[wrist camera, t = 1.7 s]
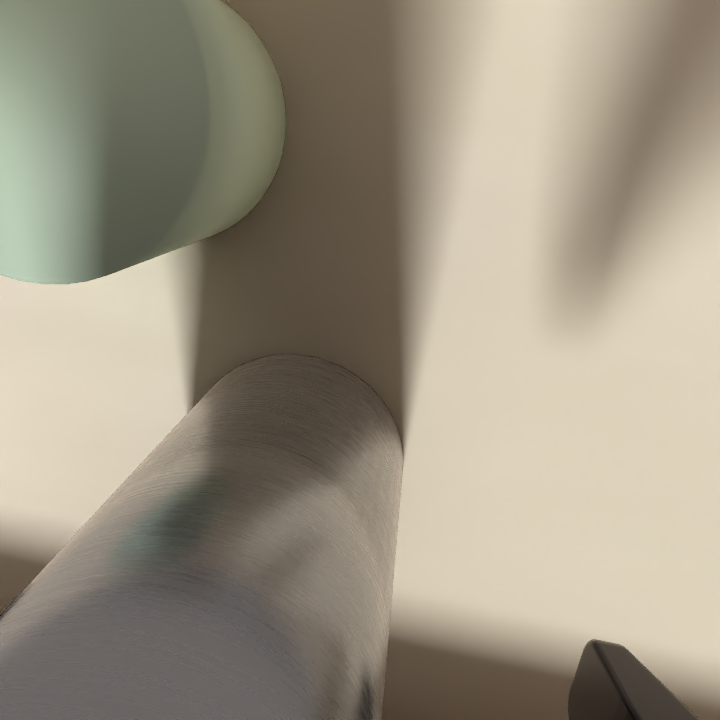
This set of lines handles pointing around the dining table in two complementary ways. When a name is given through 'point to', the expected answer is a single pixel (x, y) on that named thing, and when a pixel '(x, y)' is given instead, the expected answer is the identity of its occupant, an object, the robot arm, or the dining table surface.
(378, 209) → the dining table surface
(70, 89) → the short pin
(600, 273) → the dining table surface
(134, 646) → the long pin
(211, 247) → the dining table surface
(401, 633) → the dining table surface
